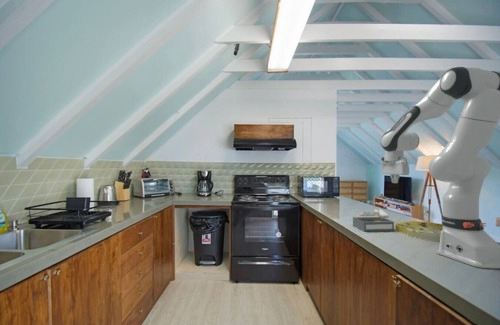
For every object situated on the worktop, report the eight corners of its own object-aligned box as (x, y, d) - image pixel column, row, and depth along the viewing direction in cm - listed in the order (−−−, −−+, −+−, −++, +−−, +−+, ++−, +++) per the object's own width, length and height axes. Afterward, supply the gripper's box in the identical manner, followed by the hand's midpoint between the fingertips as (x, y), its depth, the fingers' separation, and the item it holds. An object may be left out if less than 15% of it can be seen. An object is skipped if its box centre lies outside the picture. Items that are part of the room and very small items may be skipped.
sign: (406, 233, 122) (390, 220, 151) (407, 240, 122) (391, 226, 151) (478, 237, 114) (447, 222, 143) (478, 244, 114) (447, 228, 143)
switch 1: (370, 215, 141) (370, 211, 141) (363, 215, 141) (362, 211, 141) (363, 215, 148) (363, 212, 149) (356, 216, 148) (356, 212, 149)
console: (394, 231, 138) (394, 221, 138) (364, 231, 137) (364, 222, 137) (380, 225, 152) (379, 216, 152) (352, 225, 152) (352, 216, 152)
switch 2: (379, 214, 141) (379, 211, 141) (372, 214, 141) (371, 211, 141) (372, 215, 149) (372, 212, 149) (365, 215, 148) (365, 212, 149)
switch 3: (388, 218, 141) (388, 215, 141) (381, 218, 141) (381, 215, 141) (380, 211, 149) (380, 209, 149) (373, 212, 149) (374, 209, 149)
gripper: (412, 156, 132) (413, 184, 132) (389, 158, 153) (390, 181, 153) (400, 157, 132) (400, 184, 132) (379, 158, 153) (379, 182, 152)
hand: (395, 183), depth 142 cm, fingers closed
